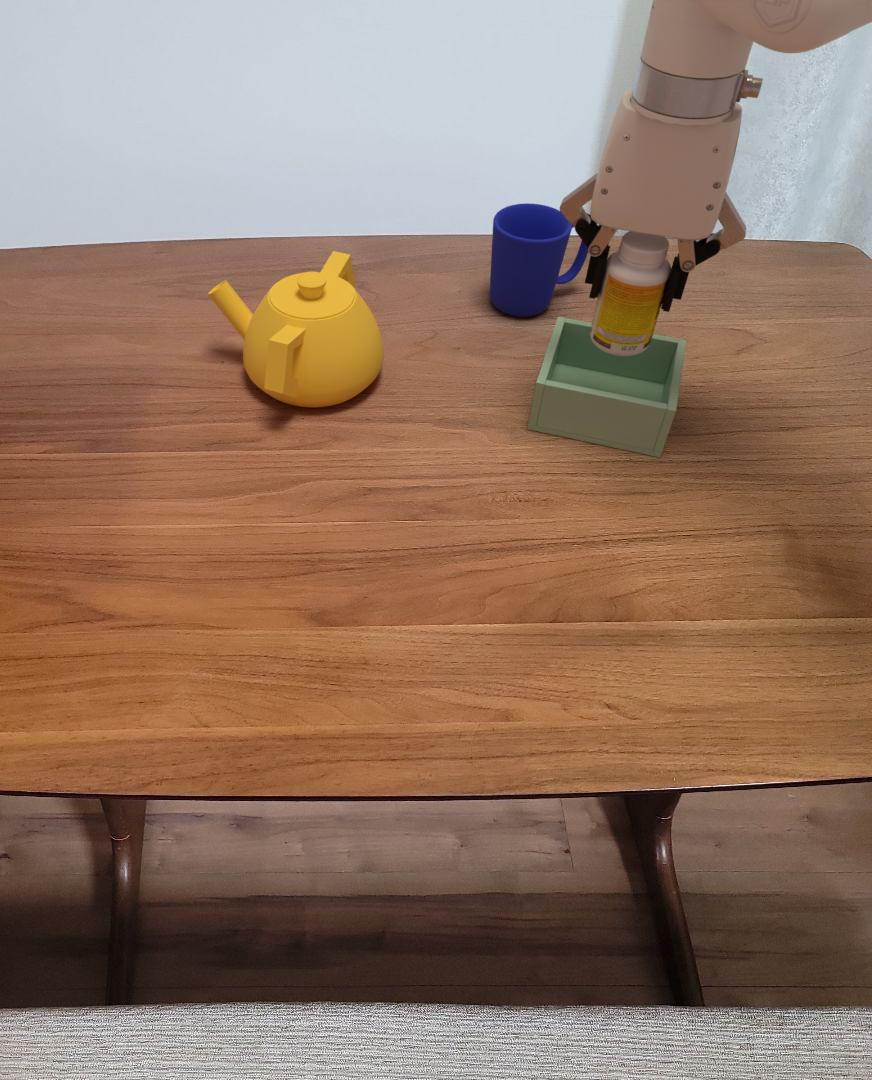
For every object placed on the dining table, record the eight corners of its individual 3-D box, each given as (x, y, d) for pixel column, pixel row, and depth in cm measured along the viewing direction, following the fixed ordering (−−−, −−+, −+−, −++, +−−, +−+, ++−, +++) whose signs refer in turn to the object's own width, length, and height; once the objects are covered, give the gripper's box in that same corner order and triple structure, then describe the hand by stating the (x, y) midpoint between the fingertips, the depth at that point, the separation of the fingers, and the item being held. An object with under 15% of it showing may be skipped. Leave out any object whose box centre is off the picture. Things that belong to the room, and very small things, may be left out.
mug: (599, 308, 104) (619, 225, 97) (504, 330, 101) (518, 247, 94) (560, 272, 109) (576, 191, 102) (469, 293, 106) (479, 210, 99)
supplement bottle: (655, 359, 84) (686, 257, 77) (594, 359, 84) (619, 257, 77) (642, 324, 88) (670, 224, 81) (583, 324, 88) (606, 224, 81)
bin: (671, 386, 94) (687, 339, 90) (660, 457, 87) (676, 410, 83) (548, 362, 97) (557, 316, 93) (526, 429, 90) (536, 382, 86)
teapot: (251, 303, 105) (244, 211, 97) (406, 333, 101) (412, 239, 93) (173, 407, 92) (158, 311, 84) (347, 447, 88) (349, 349, 80)
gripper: (806, 82, 70) (732, 292, 83) (579, 55, 74) (542, 260, 87) (806, 121, 65) (728, 338, 78) (563, 90, 69) (527, 301, 82)
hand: (630, 295), depth 83 cm, fingers closed on supplement bottle, 5 cm apart
